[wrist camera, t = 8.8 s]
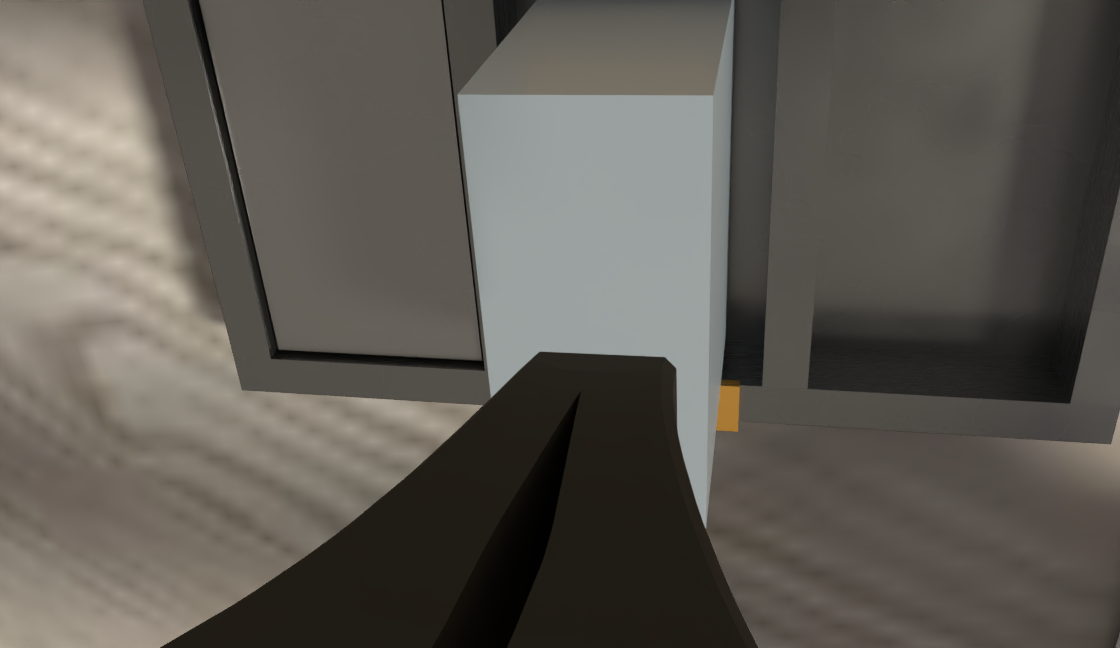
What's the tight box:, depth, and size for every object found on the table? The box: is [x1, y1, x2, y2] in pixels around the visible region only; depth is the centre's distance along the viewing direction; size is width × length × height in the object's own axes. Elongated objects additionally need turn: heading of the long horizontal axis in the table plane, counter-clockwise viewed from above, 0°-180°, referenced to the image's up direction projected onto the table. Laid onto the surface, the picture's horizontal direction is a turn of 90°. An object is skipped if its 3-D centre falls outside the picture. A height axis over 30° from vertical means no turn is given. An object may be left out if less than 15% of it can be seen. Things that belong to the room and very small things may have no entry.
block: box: [457, 0, 736, 528], centre depth 16 cm, size 6×3×6 cm, turn 3°
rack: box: [143, 0, 1120, 444], centre depth 18 cm, size 10×16×2 cm, turn 93°
